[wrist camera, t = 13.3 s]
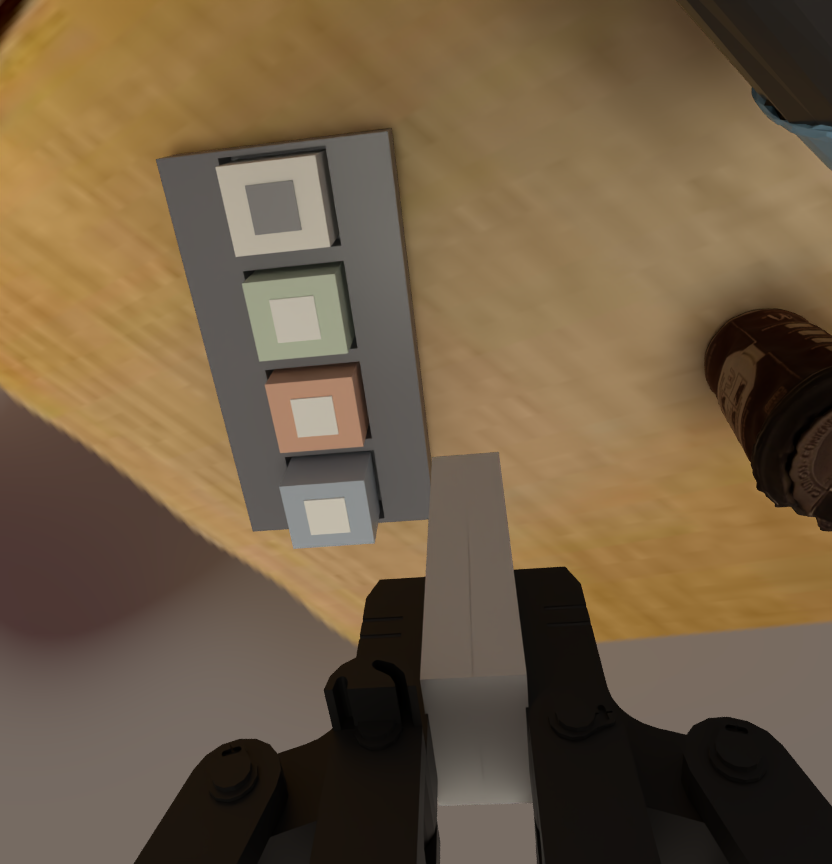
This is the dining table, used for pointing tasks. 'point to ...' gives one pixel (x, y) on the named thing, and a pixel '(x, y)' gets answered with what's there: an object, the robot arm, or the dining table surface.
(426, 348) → the dining table surface
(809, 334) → the coffee cup
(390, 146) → the keypad
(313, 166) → the key
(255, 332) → the key
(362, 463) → the key
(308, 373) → the key
